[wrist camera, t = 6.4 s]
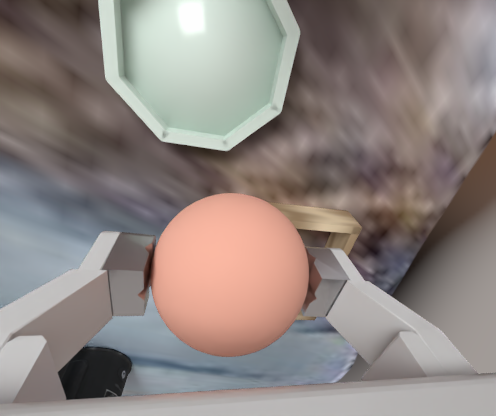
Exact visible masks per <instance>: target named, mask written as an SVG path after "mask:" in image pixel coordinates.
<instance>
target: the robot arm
mask: <svg viewBox="0 0 496 416" xmlns="http://www.w3.org/2000/svg"><path fill="white" fill-rule="evenodd" d="M155 247H156V236H155V235H146V234H135V233H125V232H122V233H121V232H112V231H103V232H101V233H100V234H99V236H98V238H97V239H96V241H95V242H94V244H93V246H92V247H91V249H90V250H89V252H88V254H87V255H86V257H85V258H84V260H83V262H82V263H81V265H80V266H79V268H78V269H71V270H69V271H67V272H65V273H64V274H62V275H60V276H58V277H57V278H55V279H53V280H51V281H49V282H48V283H46V284H44V285H42V286H40V287H39V288H37V289H35V290H33V291H32V292H30V293H28V294H26V295H24V296H23V297H21V298H19V299H17V300H16V301H14V302H12V303H10V304H8V305H7V306H5V307H3V308H1V309H0V416H496V373H482V374H478V373H477V372H476V371H475V370H474V369H473V367H472V366H471V365H470V364H469V363H468V361H466V359H465V358H464V357H463V356H462V354H461V353H460V352H459V351H458V350H457V348H456V347H455V346H454V345H453V344H452V343H451V342H450V341H449V339H448V338H447V337H446V336H445V334H444V333H443V332H442V331H441V330H440V329H438V328H437V327H435V326H434V325H433V324H431V323H430V322H428V321H427V320H425V319H424V318H422V317H421V316H419V315H418V314H416V313H415V312H413V311H412V310H410V309H408V308H407V307H406V306H404V305H403V304H401V303H400V302H398V301H397V300H396V299H394V298H393V297H391V296H390V295H388V294H387V293H385V292H384V291H382V290H381V289H379V288H378V287H376V286H375V285H373V284H372V283H370V282H369V281H364V279H363V278H362V276H361V275H360V274H359V272H358V271H357V269H356V268H355V266H354V265H353V264H352V262H351V261H350V259H349V258H348V257H347V255H346V254H345V252H344V251H343V250H341V249H340V248H317V247H305V249H306V253H307V258H308V264H309V283H308V289H307V294H306V298H305V301H304V303H303V306H302V309H301V311H302V314H303V316H310V317H326V319H327V320H328V321H329V322H330V323H331V324H332V326H333V327H334V328H335V329H336V330H337V331H338V332H339V333H340V334H341V335H342V336H343V337H344V338H345V339H346V340H347V342H348V343H349V344H350V345H351V346H352V347H353V348H354V349H355V350H356V351H357V352H358V353H359V354H360V355H361V356H362V357H363V359H364V360H365V361H366V362H367V363H368V364H369V365H370V368H369V369H368V370H367V371H366V372H365V373H364V375H363V377H362V381H356V382H341V383H324V384H308V385H292V386H277V387H261V388H245V389H230V390H214V391H198V392H183V393H167V394H151V395H136V396H120V397H104V398H89V399H73V400H66V396H65V393H64V390H63V387H62V384H61V381H60V378H59V375H58V371H59V370H60V369H62V368H63V367H64V366H65V365H66V364H67V363H68V362H69V361H70V360H71V359H72V358H73V357H74V356H75V355H76V354H77V353H78V352H79V351H80V350H81V349H82V348H83V347H84V346H85V345H86V344H87V343H88V342H89V341H90V340H91V339H92V338H93V337H94V336H95V335H96V334H97V333H98V332H99V331H100V330H101V329H102V328H103V327H104V326H105V325H106V324H107V323H108V322H109V321H110V320H111V319H112V316H144V313H145V309H146V306H147V302H148V298H149V287H150V286H151V264H152V258H153V254H154V251H155Z"/></svg>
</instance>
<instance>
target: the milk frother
mask: <svg viewBox="0 0 496 416" xmlns="http://www.w3.org/2000/svg"><path fill="white" fill-rule="evenodd" d="M131 367H132V365H131V362H130V360H129V359H128V358H127V357H126V356H125V355H123V354H121V353H119V352H117V351H114V350H111V349H105V348H83V349H81V350H80V351H79V352H78V353H77V354H76V355H75V356H74V357H73V358H72V359H71V360H70V361H69V362H68V363H67V364H66V365H65V366H64V367H63V368H62V369H60V370H59V371H58V375H59V378H60V381H61V384H62V387H63V390H64V393H65V396H66V400H73V399H89V398H104V397H120V396H121V395H122V392H123V388H124V385H125V382H126V379H127V376H128V374H129V372H130V371H131Z"/></svg>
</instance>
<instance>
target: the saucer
mask: <svg viewBox="0 0 496 416" xmlns="http://www.w3.org/2000/svg"><path fill="white" fill-rule="evenodd" d="M98 3H99V14H100V25H101V36H102V47H103V57H104V68H105V79H107V80H106V81H107V82H108V83H109V84H110V85H111V86H112V87H113V88H114V90H115V91H116V92H117V93H118V94H119V95H120V96H121V97H122V98H123V99H124V101H125V102H126V103H127V104H128V105H129V106H130V107H131V108H132V109H133V111H134V112H135V113H136V114H137V115H138V116H139V117H140V118H141V119H142V120H143V122H144V123H145V124H146V125H147V126H148V127H149V128H150V129H151V130H152V131H153V133H154V134H155V135H156V136H157V137H158V138H159V139H160V140H161V141H162V142H169V143H176V144H182V145H189V146H196V147H203V148H209V149H216V150H223V151H227V150H230V149H231V148H233V147H234V146H235V145H237V144H238V143H240V142H241V141H242V140H244V139H245V138H246V137H248V136H249V135H251V134H252V133H253V132H255V131H256V130H258V129H259V128H260V127H262V126H263V125H264V124H266V123H267V122H269V121H270V120H271V119H273V118H274V117H276V116H277V115H278V114H280V113H281V111H282V107H283V103H284V99H285V95H286V90H287V86H288V82H289V78H290V74H291V70H292V66H293V61H294V57H295V53H296V49H297V45H298V41H299V37H300V29H299V27H298V24H297V22H296V20H295V18H294V15H293V13H292V11H291V9H290V6H289V4H288V2H287V0H98Z"/></svg>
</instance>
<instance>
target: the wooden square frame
mask: <svg viewBox="0 0 496 416" xmlns="http://www.w3.org/2000/svg"><path fill="white" fill-rule="evenodd" d="M268 203H269V204H271V205H272V206H274V207H276V208H277V209H278V210H280V211H281V212H282V213H283V214H284V215H285V216H286V217H287V218H288V219H289V220H290V221H291V223H292V224H293V225H294V227H295V228H296V229H306V230H317V231H328V232H331V234H330V236H329V238H328V240H327V243H326V245H325V247H324V248H340V249H341V250H343V251H344V252H345V254H346V255H347V256H348V254H349V252H350V250H351V249H352V247H353V245H354V243H355V241H356V239H357V237H358V235H359V233H360V231H361V229H362V227H361V226H360V225H359V223H358V222H357V221H356V220H355V219H354V218H353V217H352V215H351V214H350V213H349V212H348V211H343V210H334V209H325V208H316V207H307V206H298V205H289V204H280V203H271V202H268ZM315 319H316V317H310V316H303V314H302V311H300V312H299V314H298V316H297V318H296V319H295V320H315Z"/></svg>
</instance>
